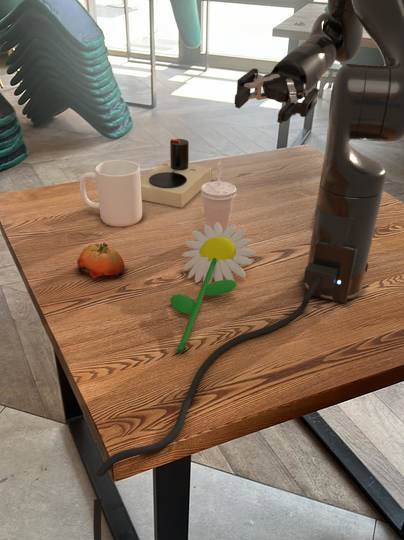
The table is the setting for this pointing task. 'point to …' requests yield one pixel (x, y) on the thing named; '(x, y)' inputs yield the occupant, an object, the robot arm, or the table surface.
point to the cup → (116, 192)
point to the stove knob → (179, 154)
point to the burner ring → (167, 180)
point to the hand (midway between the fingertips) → (258, 110)
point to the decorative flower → (212, 267)
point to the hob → (179, 194)
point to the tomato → (101, 260)
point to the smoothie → (218, 201)
